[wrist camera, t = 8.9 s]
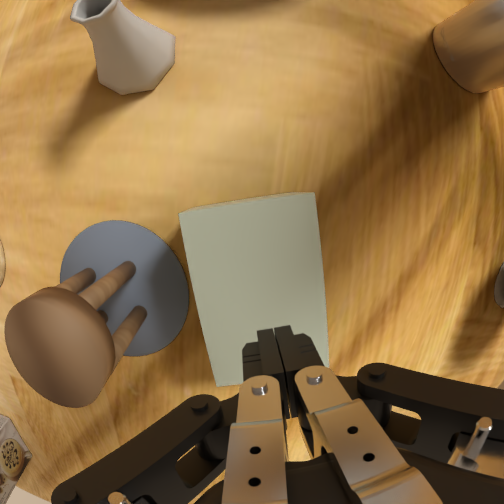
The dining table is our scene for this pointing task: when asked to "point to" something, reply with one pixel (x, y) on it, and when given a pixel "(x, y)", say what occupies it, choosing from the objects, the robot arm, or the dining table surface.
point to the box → (255, 274)
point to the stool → (71, 336)
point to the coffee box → (11, 458)
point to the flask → (125, 46)
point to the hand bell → (2, 264)
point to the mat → (134, 280)
